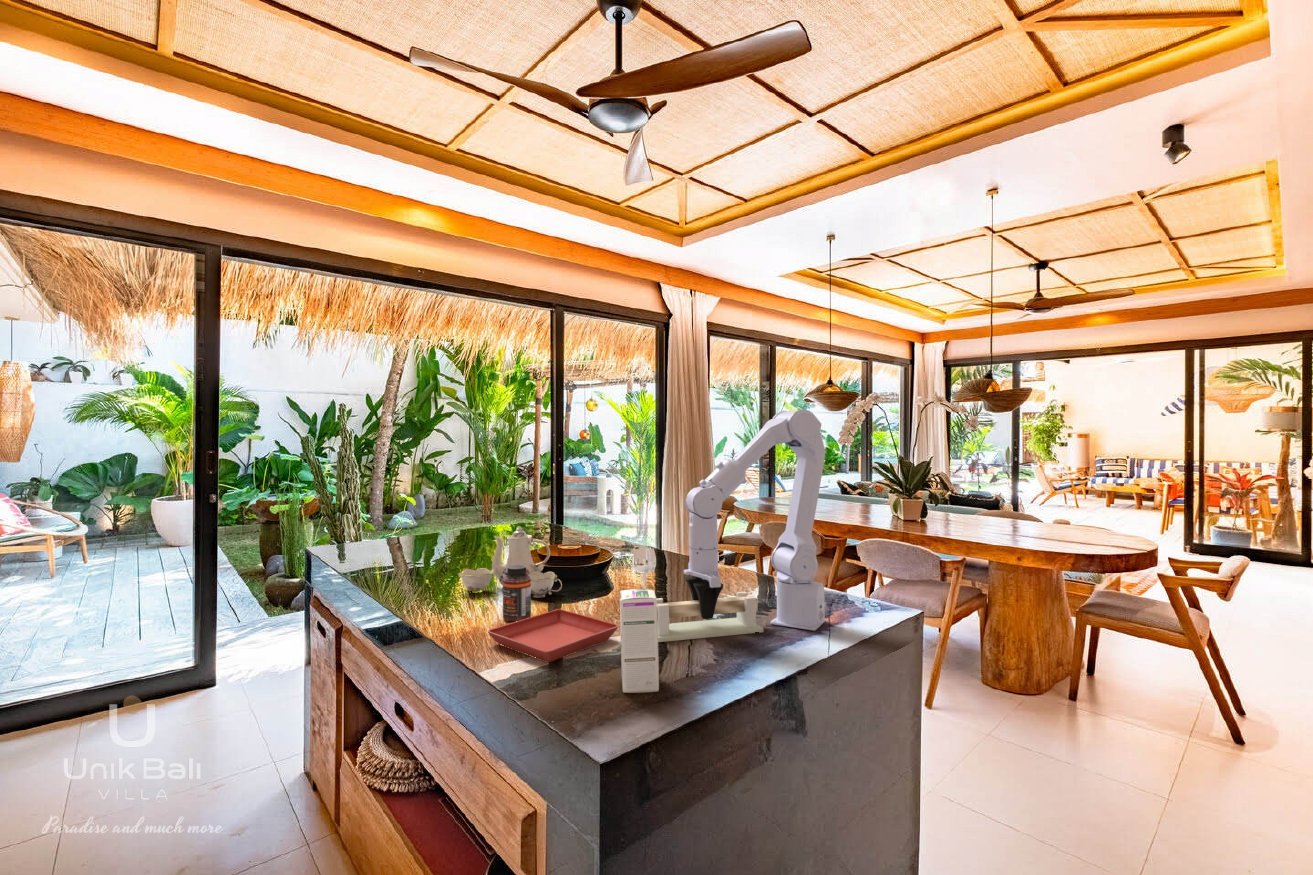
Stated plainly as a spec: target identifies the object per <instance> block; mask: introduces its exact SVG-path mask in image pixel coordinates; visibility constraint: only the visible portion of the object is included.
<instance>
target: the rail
mask: <svg viewBox="0 0 1313 875" xmlns="http://www.w3.org/2000/svg"><path fill="white" fill-rule="evenodd" d="M745 597H755V596H754V595H747V596H744V597H736V596H734V597H720V598H719V597H718V599H717V602H716V607H715V611H714V615H722V614H724V615H725V614H732V613H737V612H745ZM755 598H756V612H757V611H758V606H759V605H758V597H755ZM658 604H668V605H669V619H675V618H676V619H678V618H685V617H687V618H689V617H698V616H699V617H702V616H701V612H700V604H699V600H694V601H693V600H684V601H683V600H682V601H672V602H663V603H657V619H658Z"/></svg>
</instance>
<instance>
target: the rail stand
mask: <svg viewBox="0 0 1313 875" xmlns="http://www.w3.org/2000/svg"><path fill="white" fill-rule="evenodd" d="M744 596H748V592H747V591H736V596H735V597H744ZM756 598H757V597H755V596H754V597H745V612H736V617H729V618H728V617H727V618H716V619H703V620H695V621H693V620H692V621H683V622H673V623H670V618H669V605H668V604H658V619H657V629H658V643H662V642H664V643H665V642H675V641H683V640H685V641H686V640H693V639H695V640H696V639H703V638H704V639H705V638H714V637H715V638H717V637H726V636H727V637H728V636H736V635H747V634H756V633H755V632H759V633H764V626H761V625H760V624H759V623H757V611H756ZM656 599H657V603H664V599H663V597H660V598H657V597H656Z"/></svg>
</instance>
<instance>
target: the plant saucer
mask: <svg viewBox="0 0 1313 875" xmlns="http://www.w3.org/2000/svg"><path fill="white" fill-rule="evenodd" d="M618 628H619V624H616V623H612V622H609V621H607V620H606V621H605V620H602V619H598V618H595V617H592V616H588V615H584V614H580V613H577V612H573V611H569V610H565V609H559V608H557V609H553V610H551V611H547V612H543V613H541V614H537V615H533V616H531V617H530V618H526V619H523V620H520V621H517V622H509V623H507V624H504V625H501V626H497V627H494V628H491V629H488V630H487V633H488V634H489V636H490V637H491V639H493V640H494V641H495V642H497V644H498V643H499V644H498V645H500V644H502V645H504V646H506V647H505V648H507V647H509V648H512V649H514V650H513V651H515V650H517V651H516V652H518V651H519V652H518V653H520V652H523V653H526V654H528V655H527V656H529V655H531V656H533V657H532V658H534V657H536V658H535V659H537V658H538V660H539V659H541V660H540V661H542V660H544V661H543V662H545V661H546V662H545V663H551V662H554V661H557V660H559V658H560V659H562V658H564V657H567V655H568V656H570V655H573V654H575V652H576V653H577V652H581V651H583V650H587V649H590V648H591V647H594V645H595V646H597V645H599V644H602V642H603V643H605V642H607V640H609V639H610V638H611V637H612V635H614V634H615V632H616V631H617V630H618ZM504 646H503V647H504ZM509 648H508V649H509ZM512 649H511V650H512ZM523 653H522V654H523ZM572 653H573V654H572ZM526 654H525V655H526ZM531 656H530V657H531Z"/></svg>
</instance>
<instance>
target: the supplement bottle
mask: <svg viewBox="0 0 1313 875" xmlns="http://www.w3.org/2000/svg"><path fill="white" fill-rule="evenodd" d="M507 573H508V574H507V576H506V577H505V578H504V579H503V585H502V619H503V620H504V621H506V622H508V621H514V622H516V621H520V620H523V619H526V618H530V617H532V616H531V615H532V593H531V578H530V577H529V576H528V575H527V574H526V566H525V565H512V566H509V567H508V568H507Z"/></svg>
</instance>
